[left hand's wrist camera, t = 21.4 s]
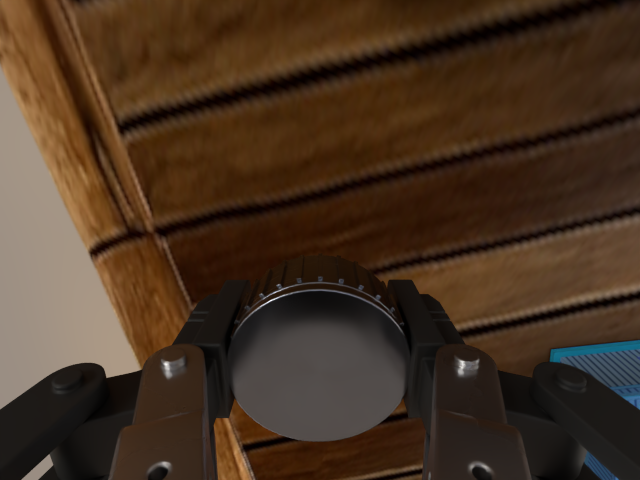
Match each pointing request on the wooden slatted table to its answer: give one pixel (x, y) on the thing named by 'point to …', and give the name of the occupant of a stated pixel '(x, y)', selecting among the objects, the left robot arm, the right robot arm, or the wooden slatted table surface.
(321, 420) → the lid
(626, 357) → the model building
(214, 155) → the wooden slatted table surface
